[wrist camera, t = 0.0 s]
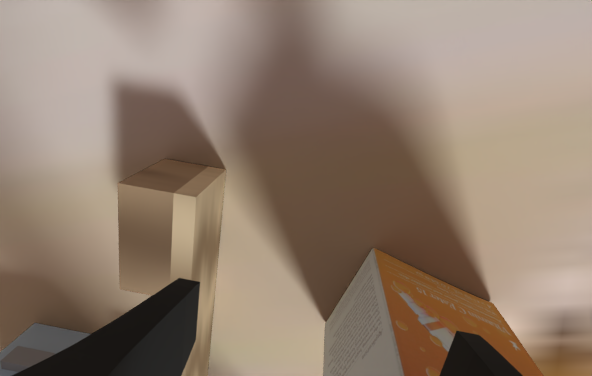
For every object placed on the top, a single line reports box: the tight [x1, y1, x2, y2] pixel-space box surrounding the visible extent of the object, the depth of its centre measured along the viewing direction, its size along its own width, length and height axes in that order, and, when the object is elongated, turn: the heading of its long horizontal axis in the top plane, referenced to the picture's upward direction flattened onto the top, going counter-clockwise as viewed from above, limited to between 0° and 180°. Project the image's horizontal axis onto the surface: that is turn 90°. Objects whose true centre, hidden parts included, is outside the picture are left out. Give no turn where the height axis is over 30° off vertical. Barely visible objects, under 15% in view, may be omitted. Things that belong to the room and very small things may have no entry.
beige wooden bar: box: [118, 159, 226, 376], centre depth 21 cm, size 22×4×4 cm, turn 171°
